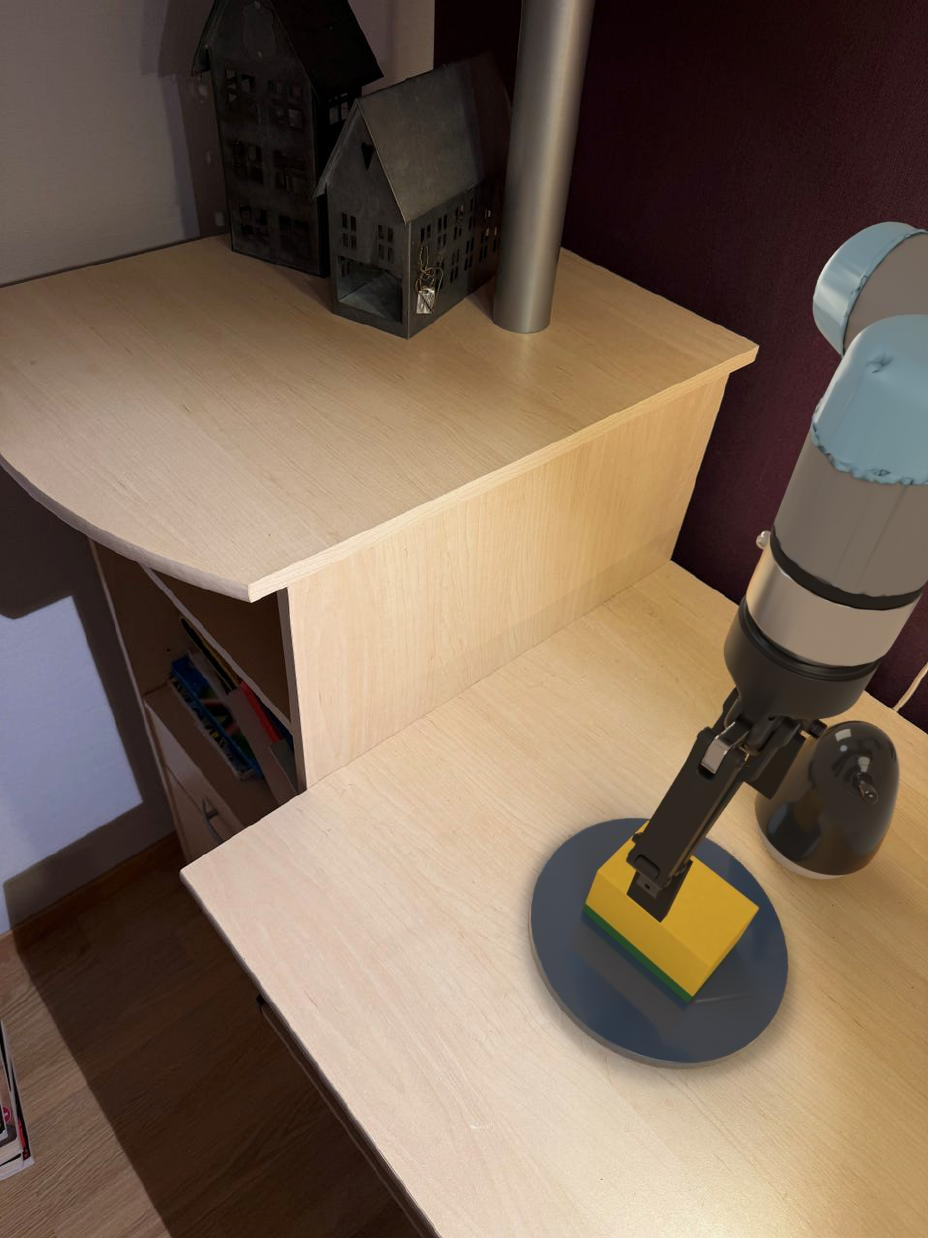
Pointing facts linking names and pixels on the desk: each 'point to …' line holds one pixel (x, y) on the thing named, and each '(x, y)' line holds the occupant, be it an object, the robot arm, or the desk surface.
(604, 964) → the plate
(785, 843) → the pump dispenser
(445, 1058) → the desk surface
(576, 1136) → the desk surface
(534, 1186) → the desk surface
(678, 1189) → the desk surface
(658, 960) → the sponge
